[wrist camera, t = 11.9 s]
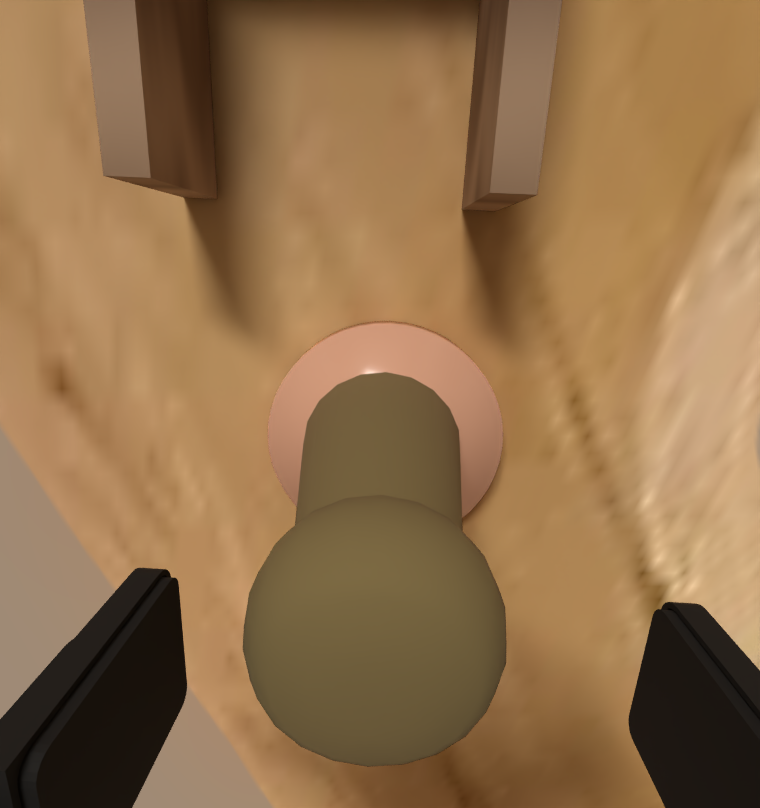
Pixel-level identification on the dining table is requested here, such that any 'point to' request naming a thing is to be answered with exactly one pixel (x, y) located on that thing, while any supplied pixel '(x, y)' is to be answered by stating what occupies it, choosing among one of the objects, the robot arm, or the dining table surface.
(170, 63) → the walnut shelf bay
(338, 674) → the olive peg doll
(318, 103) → the dining table surface
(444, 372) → the terracotta coaster
